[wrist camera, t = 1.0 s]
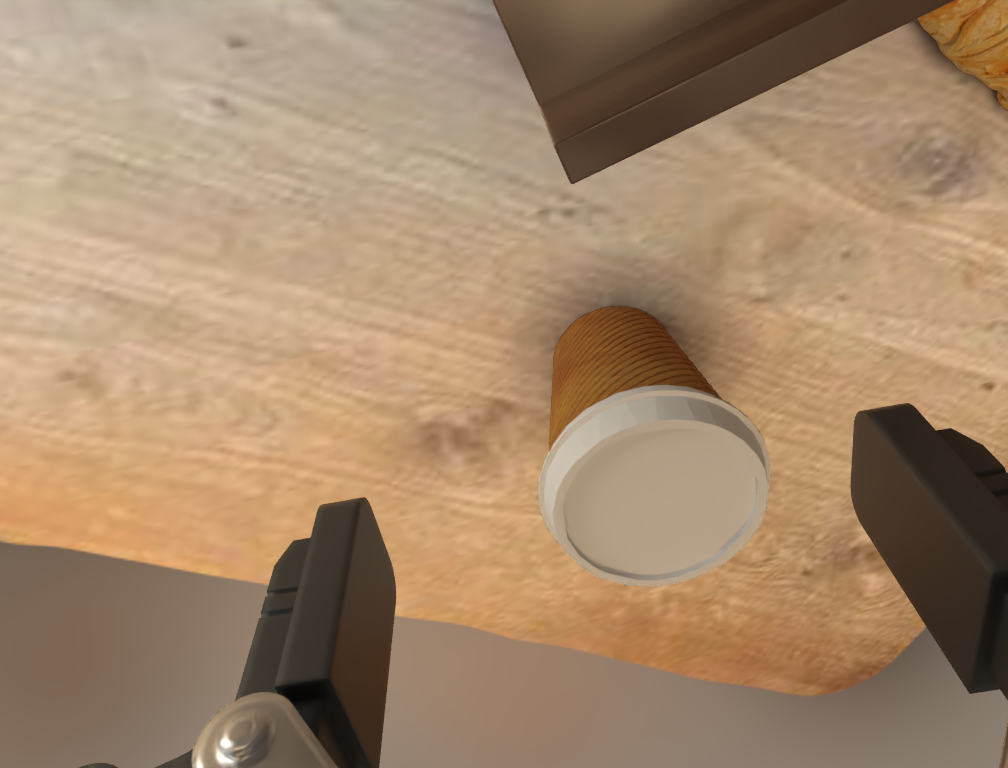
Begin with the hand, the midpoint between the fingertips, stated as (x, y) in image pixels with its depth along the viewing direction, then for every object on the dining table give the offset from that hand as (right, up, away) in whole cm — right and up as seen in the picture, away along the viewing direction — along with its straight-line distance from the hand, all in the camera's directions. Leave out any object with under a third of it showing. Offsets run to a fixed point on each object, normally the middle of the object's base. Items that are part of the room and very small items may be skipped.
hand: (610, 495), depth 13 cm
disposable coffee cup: (+4, +3, +28) cm, 29 cm away
